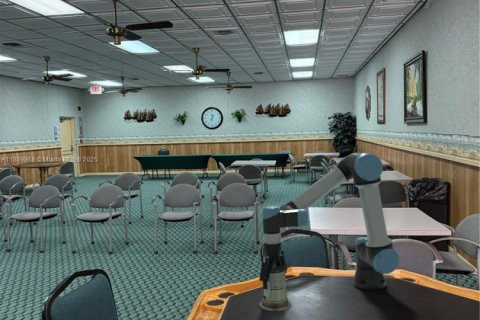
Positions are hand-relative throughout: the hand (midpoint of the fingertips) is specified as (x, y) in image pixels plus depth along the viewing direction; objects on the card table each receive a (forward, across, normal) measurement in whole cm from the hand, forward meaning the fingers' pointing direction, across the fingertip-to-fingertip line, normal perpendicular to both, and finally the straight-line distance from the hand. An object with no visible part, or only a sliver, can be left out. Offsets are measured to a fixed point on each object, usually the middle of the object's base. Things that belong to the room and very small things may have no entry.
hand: (274, 291), depth 190 cm
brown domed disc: (+6, 0, 0) cm, 6 cm away
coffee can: (+3, 0, 0) cm, 4 cm away
